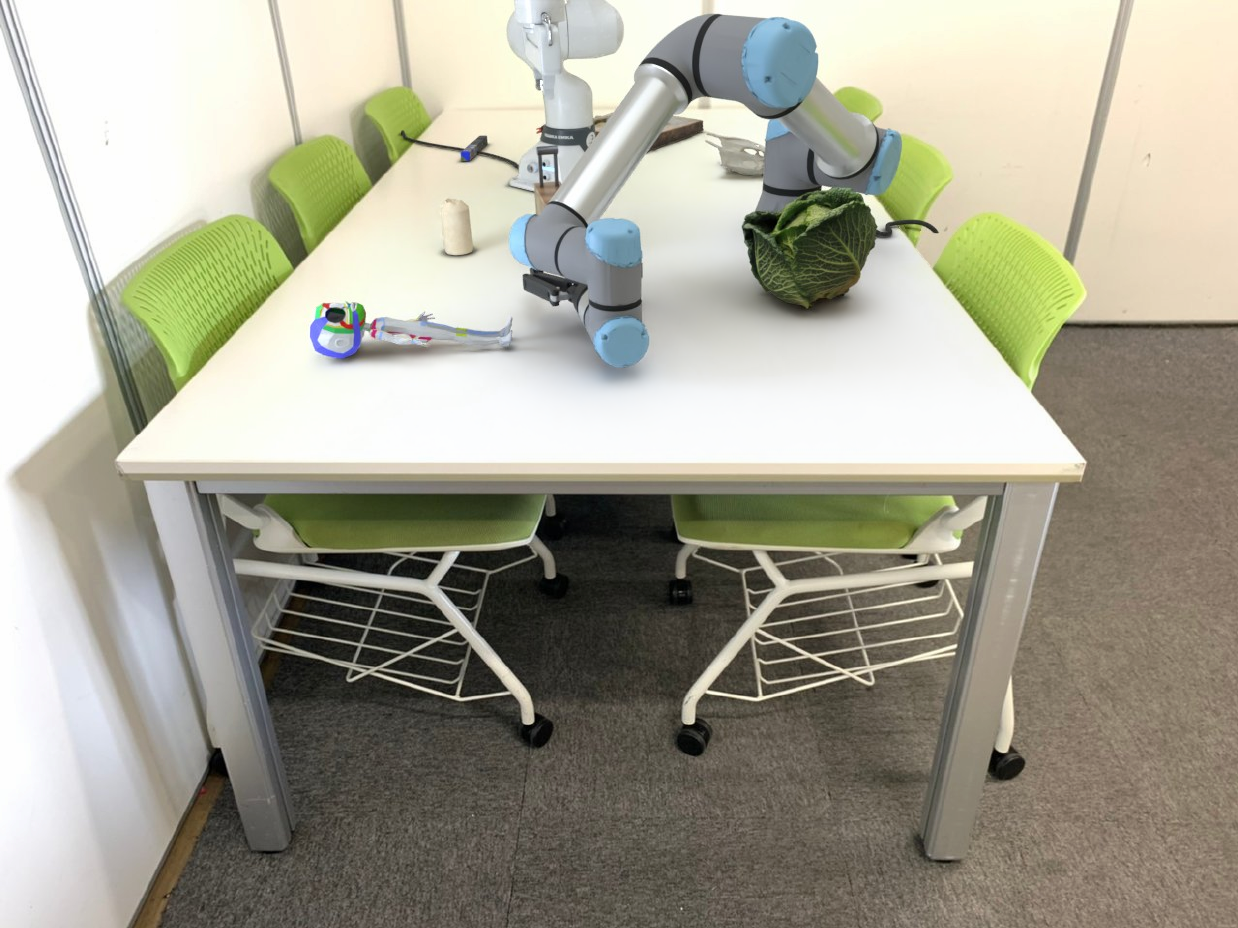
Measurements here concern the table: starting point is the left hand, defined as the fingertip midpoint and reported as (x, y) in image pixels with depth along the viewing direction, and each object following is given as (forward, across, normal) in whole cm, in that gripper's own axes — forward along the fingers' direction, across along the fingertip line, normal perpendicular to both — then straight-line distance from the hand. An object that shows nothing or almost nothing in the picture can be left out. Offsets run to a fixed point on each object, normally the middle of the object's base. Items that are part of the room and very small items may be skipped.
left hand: (544, 94), depth 164 cm
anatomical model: (+28, +40, -58) cm, 75 cm away
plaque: (+28, +88, -39) cm, 100 cm away
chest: (+28, -6, 0) cm, 29 cm away
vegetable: (+28, -40, -37) cm, 61 cm away
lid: (+18, -5, 0) cm, 18 cm away
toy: (+28, -44, +29) cm, 60 cm away
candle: (+28, 0, +19) cm, 34 cm away
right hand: (+23, -26, 0) cm, 34 cm away
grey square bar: (+28, +81, +8) cm, 86 cm away
